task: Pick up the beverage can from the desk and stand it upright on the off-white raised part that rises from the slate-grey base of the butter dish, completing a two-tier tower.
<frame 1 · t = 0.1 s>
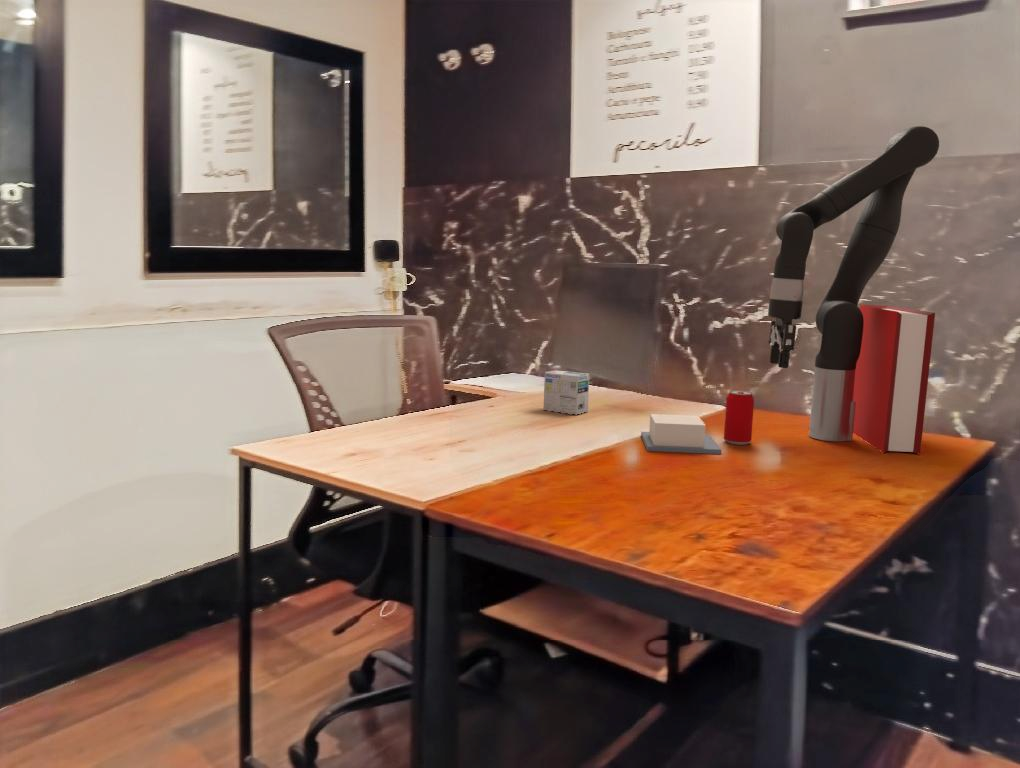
hand: (778, 365, 202), 17 cm above the table, tool pointing down, fingers open, 8 cm apart
light bulb box: (565, 412, 229), on the table
book: (880, 442, 203), on the table
beverage can: (737, 443, 196), on the table
butter dish: (679, 444, 192), on the table
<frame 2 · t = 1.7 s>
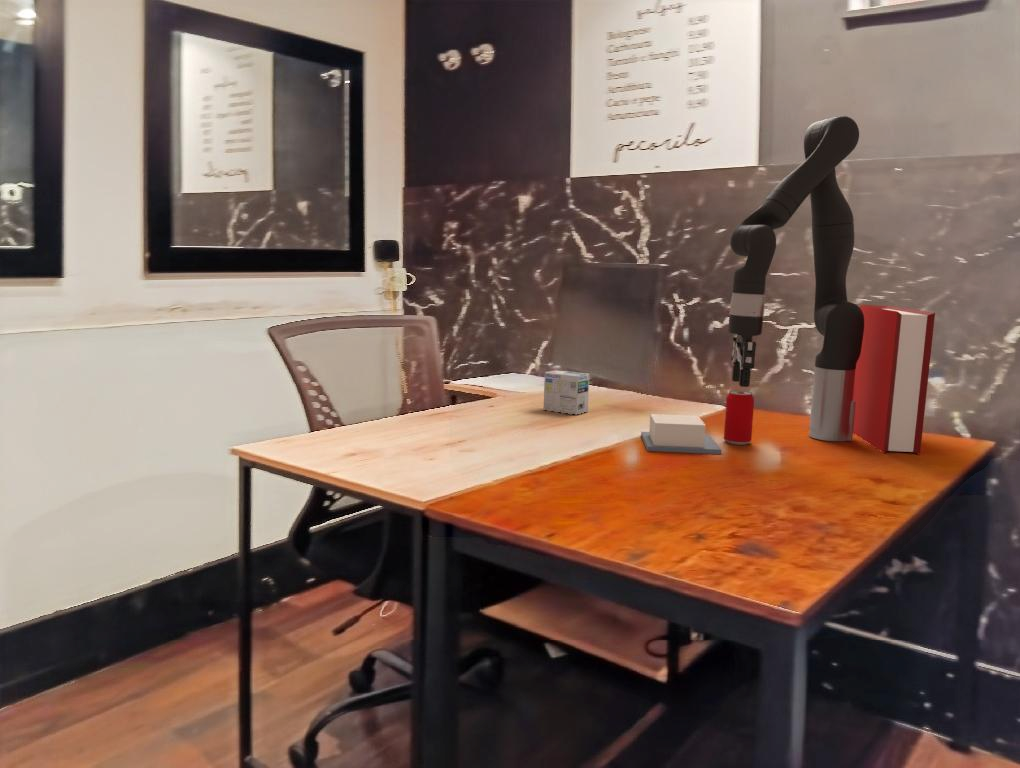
hand: (740, 383, 194), 14 cm above the table, tool pointing down, fingers open, 8 cm apart
nothing on the table moved.
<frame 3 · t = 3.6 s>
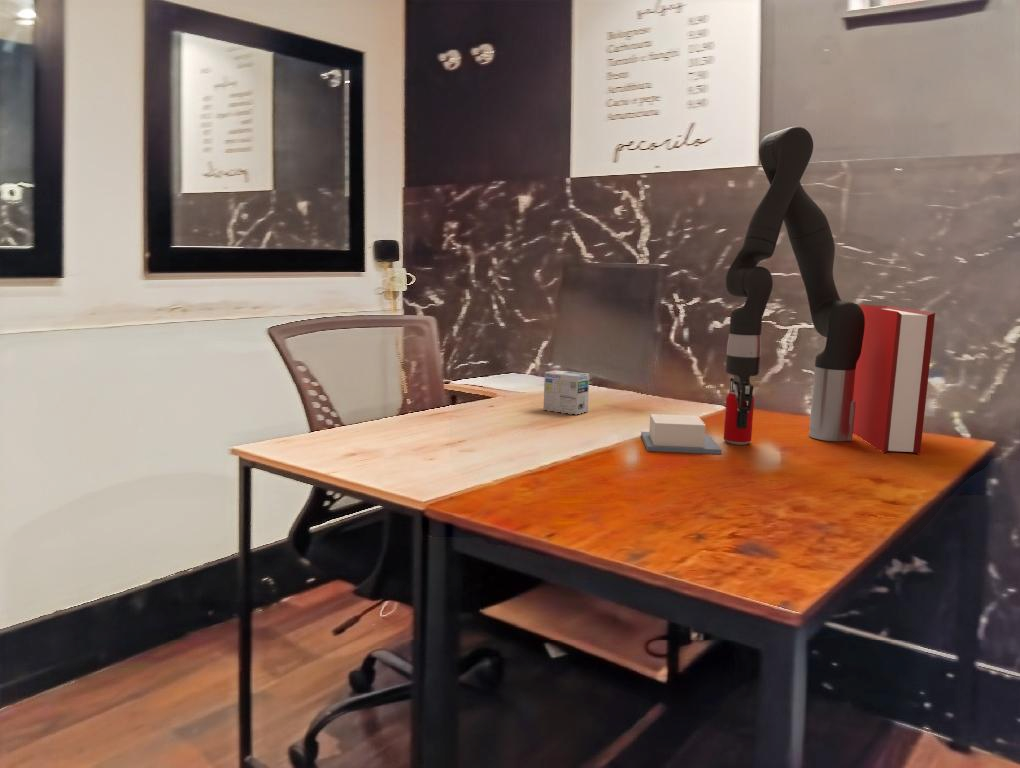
hand: (738, 425, 195), 4 cm above the table, tool pointing down, fingers closed on beverage can, 6 cm apart
beverage can: (736, 443, 196), on the table, touching gripper
everything else where it was.
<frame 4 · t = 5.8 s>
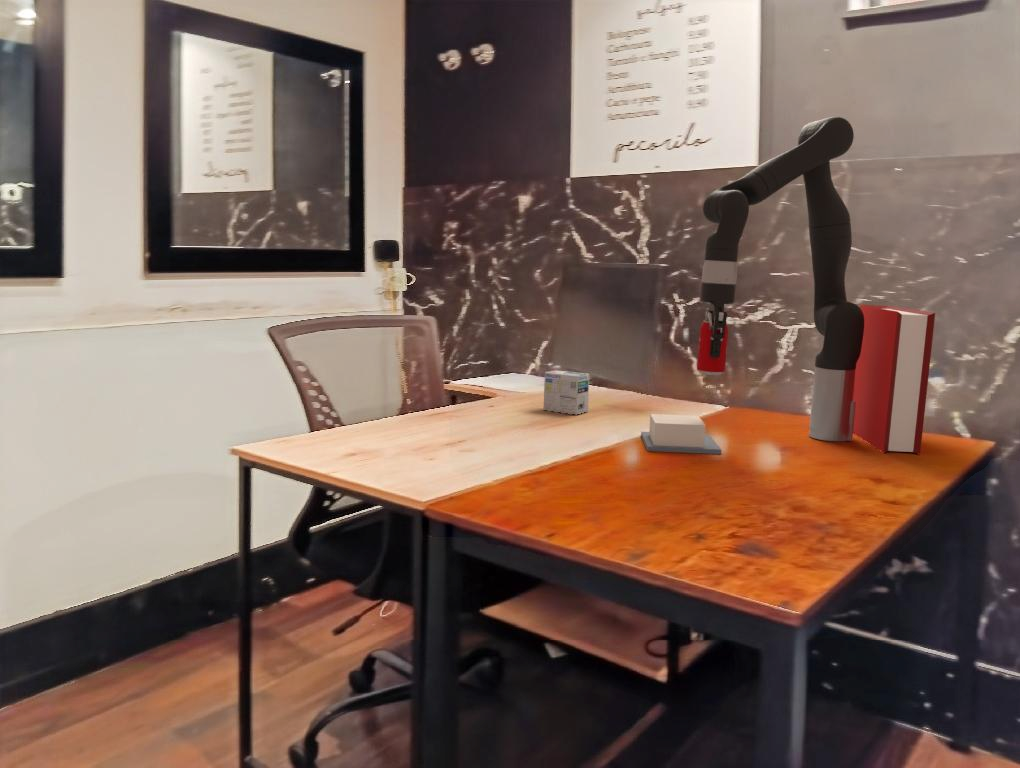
hand: (712, 355, 191), 20 cm above the table, tool pointing down, fingers closed on beverage can, 6 cm apart
beverage can: (710, 374, 191), point 16 cm above the table, touching gripper
everything else where it was.
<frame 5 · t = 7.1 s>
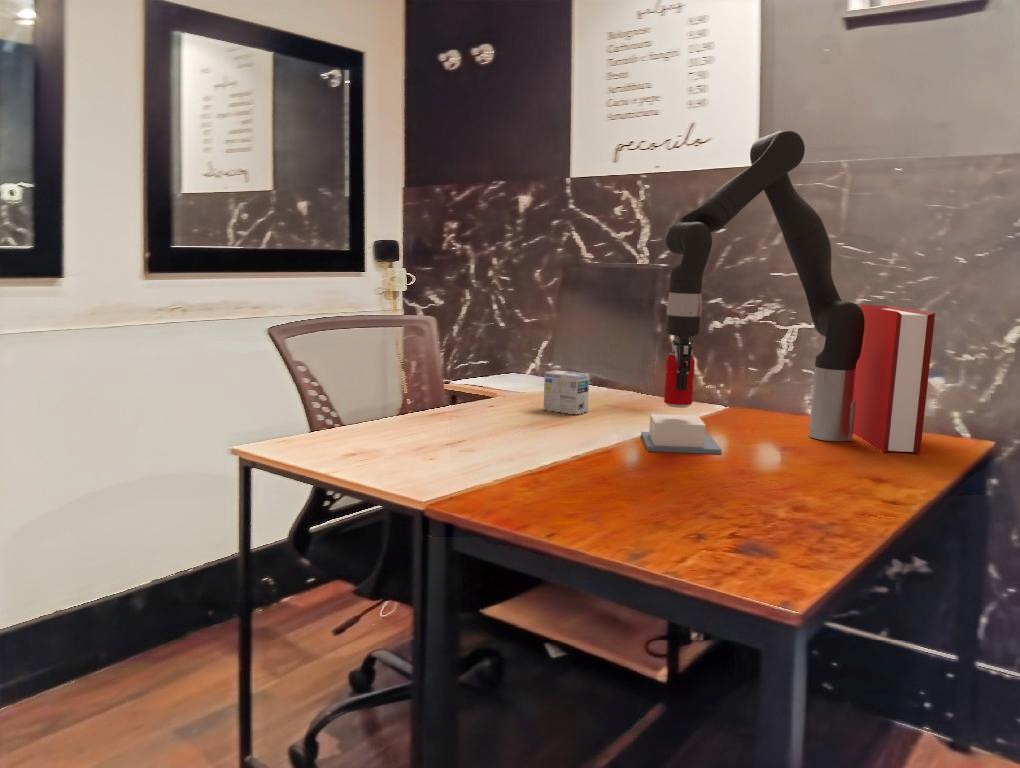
hand: (679, 387, 189), 13 cm above the table, tool pointing down, fingers closed on beverage can, 6 cm apart
beverage can: (677, 406, 190), point 9 cm above the table, touching gripper
everything else where it was.
when the fingers open (11 cm above the table, at t = 8.1 s): beverage can drops 1 cm, resting on butter dish.
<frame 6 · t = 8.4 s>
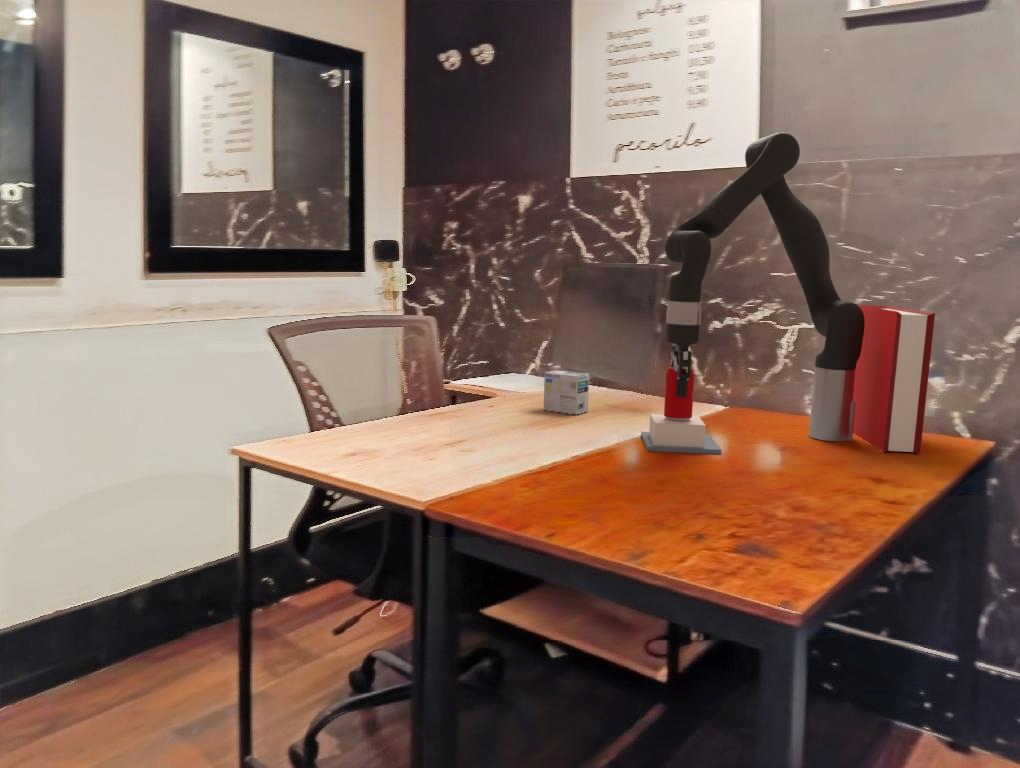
hand: (678, 393, 189), 12 cm above the table, tool pointing down, fingers open, 8 cm apart
beverage can: (677, 420, 190), point 6 cm above the table, touching butter dish
everything else where it was.
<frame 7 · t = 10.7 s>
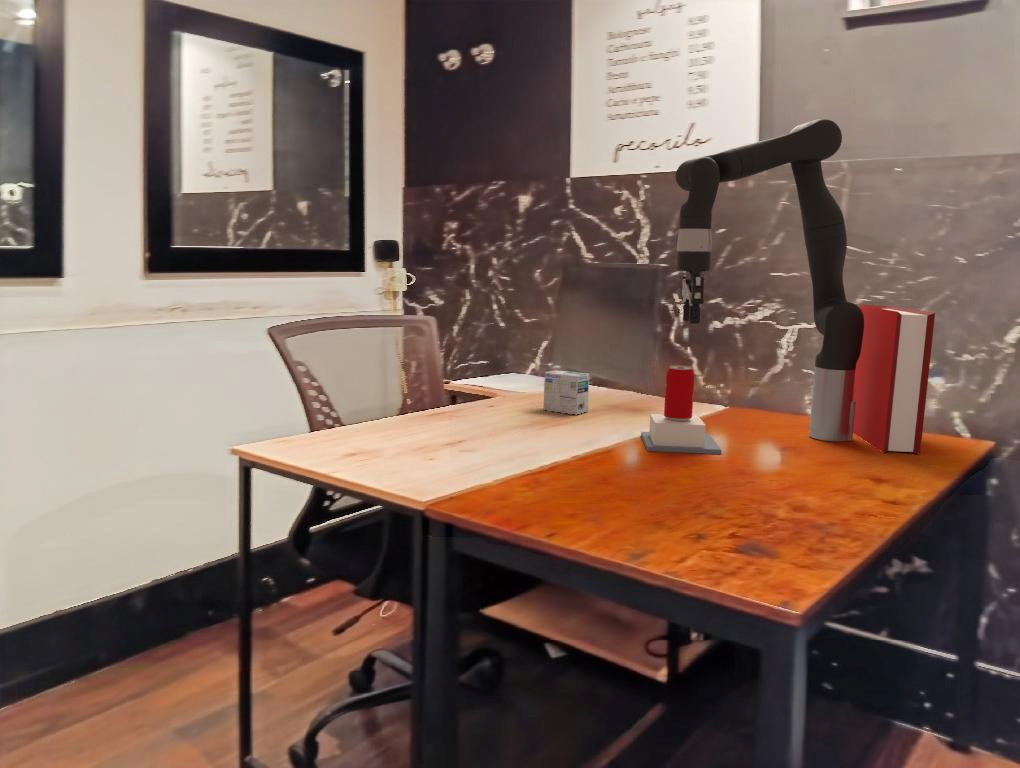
hand: (691, 322, 191), 28 cm above the table, tool pointing down, fingers open, 8 cm apart
nothing on the table moved.
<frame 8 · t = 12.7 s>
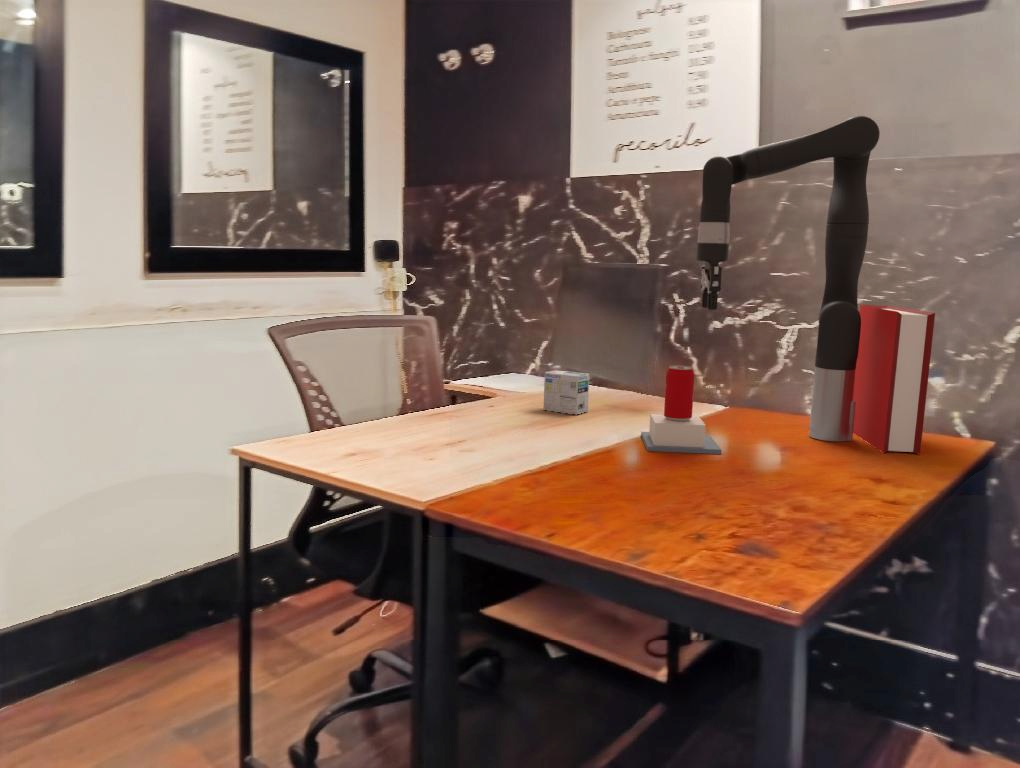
hand: (708, 308, 207), 30 cm above the table, tool pointing down, fingers open, 8 cm apart
nothing on the table moved.
at the end: beverage can inside the target area on the butter dish (0.2 cm from its centre), point 5.8 cm above the butter dish's base; beverage can tilted 0°; the gripper is holding nothing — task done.
